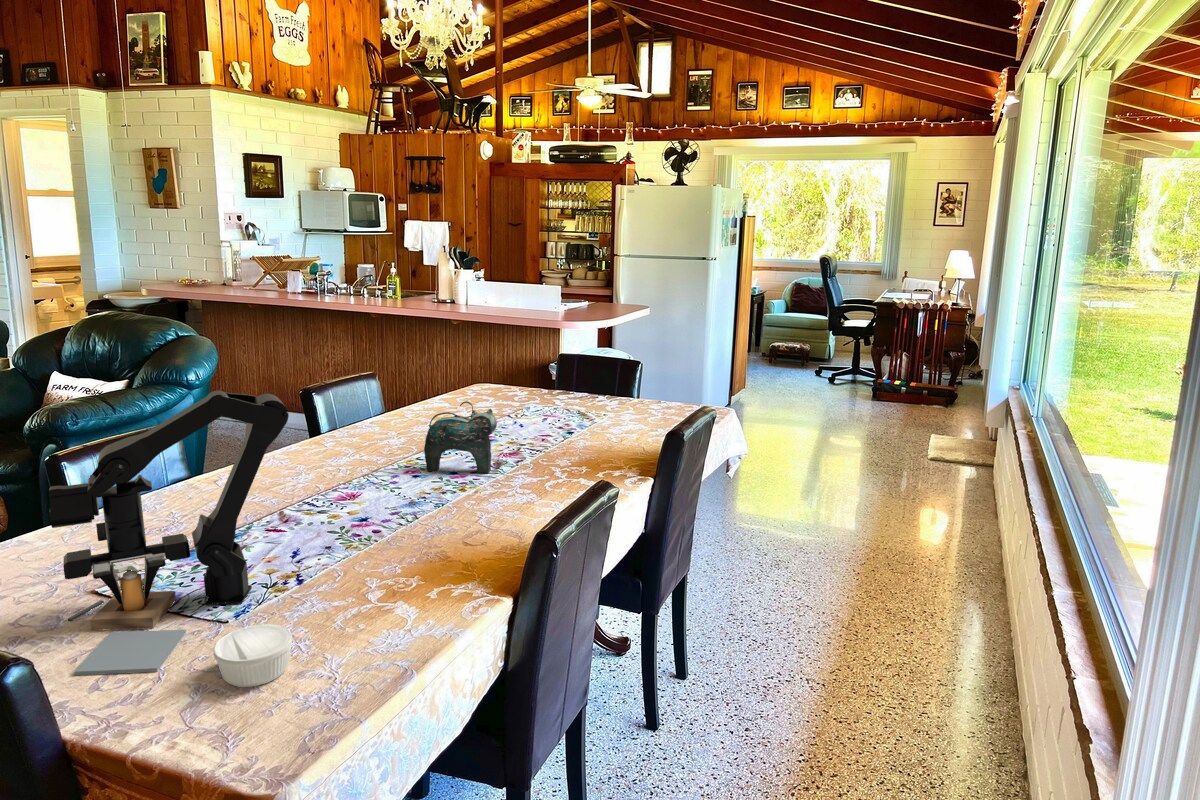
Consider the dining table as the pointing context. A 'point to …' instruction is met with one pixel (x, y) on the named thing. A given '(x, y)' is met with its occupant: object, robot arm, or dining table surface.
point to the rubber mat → (131, 652)
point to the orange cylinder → (132, 591)
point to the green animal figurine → (461, 438)
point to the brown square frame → (133, 613)
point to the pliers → (125, 568)
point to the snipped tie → (85, 610)
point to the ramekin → (253, 654)
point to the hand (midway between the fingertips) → (133, 600)
